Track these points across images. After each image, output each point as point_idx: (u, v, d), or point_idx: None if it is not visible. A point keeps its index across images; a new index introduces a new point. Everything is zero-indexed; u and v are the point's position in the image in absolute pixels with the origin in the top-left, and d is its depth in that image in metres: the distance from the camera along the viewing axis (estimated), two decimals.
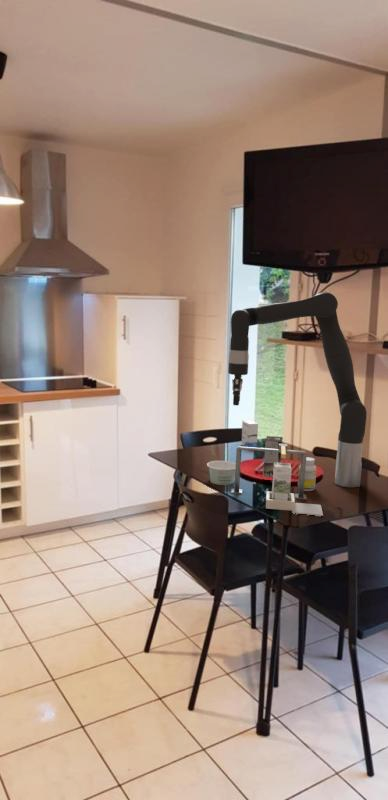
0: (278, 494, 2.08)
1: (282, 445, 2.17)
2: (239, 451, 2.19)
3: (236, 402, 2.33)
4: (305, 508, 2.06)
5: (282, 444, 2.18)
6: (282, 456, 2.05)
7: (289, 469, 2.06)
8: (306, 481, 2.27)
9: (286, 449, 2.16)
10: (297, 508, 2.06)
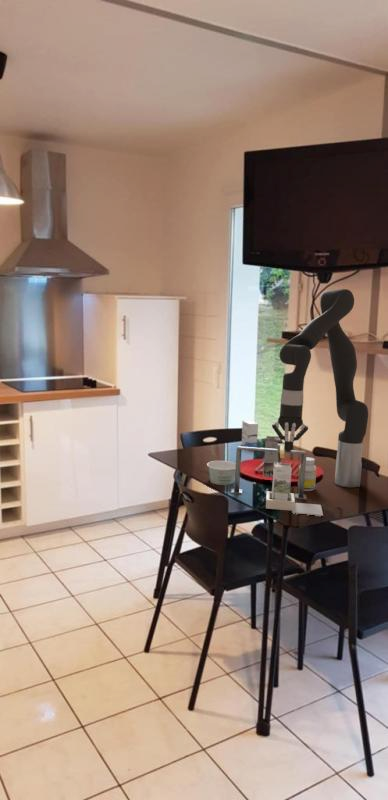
0: (278, 494, 2.08)
1: (281, 445, 2.17)
2: (239, 451, 2.19)
3: None
4: (305, 508, 2.06)
5: (281, 444, 2.18)
6: (281, 456, 2.05)
7: (289, 469, 2.06)
8: (306, 481, 2.27)
9: None
10: (297, 508, 2.06)
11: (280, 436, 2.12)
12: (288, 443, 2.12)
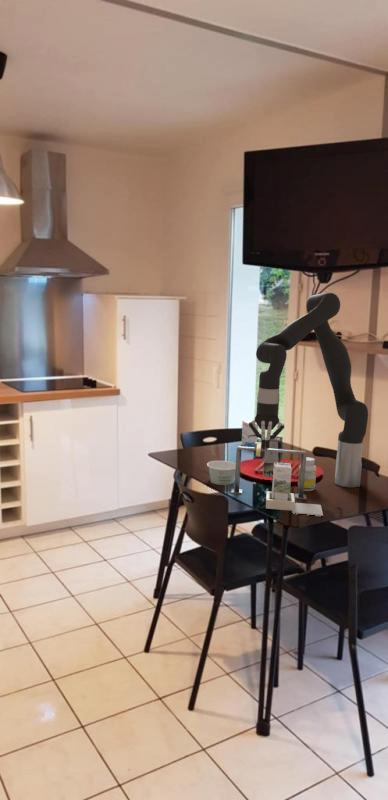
0: (278, 494, 2.08)
1: (258, 443, 2.18)
2: (239, 451, 2.19)
3: (268, 446, 2.14)
4: (305, 508, 2.06)
5: (258, 442, 2.19)
6: (257, 454, 2.06)
7: (289, 469, 2.06)
8: (306, 481, 2.27)
9: None
10: (297, 508, 2.06)
11: (257, 434, 2.13)
12: None
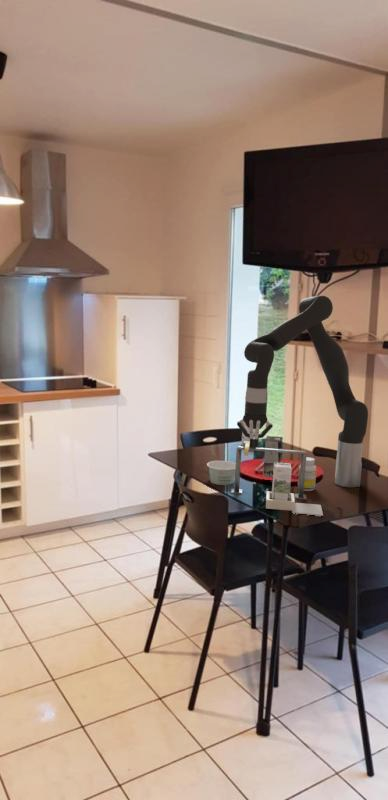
0: (278, 494, 2.08)
1: (247, 442, 2.18)
2: (239, 451, 2.19)
3: None
4: (305, 508, 2.06)
5: (247, 441, 2.19)
6: (245, 453, 2.06)
7: (289, 469, 2.06)
8: (306, 481, 2.27)
9: None
10: (297, 508, 2.06)
11: (245, 434, 2.13)
12: (253, 440, 2.13)
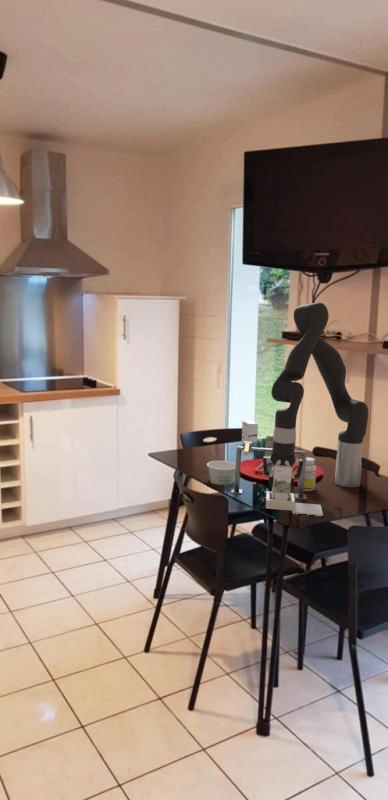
0: (278, 494, 2.08)
1: (247, 442, 2.18)
2: (239, 451, 2.19)
3: None
4: (305, 508, 2.06)
5: (247, 441, 2.19)
6: (244, 453, 2.06)
7: (289, 469, 2.06)
8: (306, 481, 2.27)
9: (250, 446, 2.18)
10: (297, 508, 2.06)
11: (264, 472, 2.09)
12: (272, 479, 2.09)
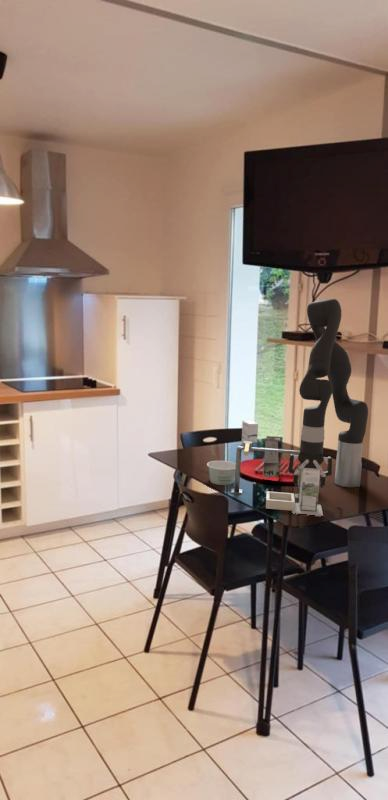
0: (306, 498, 2.03)
1: (247, 442, 2.18)
2: (239, 451, 2.19)
3: None
4: None
5: (247, 441, 2.19)
6: (244, 453, 2.06)
7: (318, 471, 2.01)
8: None
9: (250, 446, 2.18)
10: (297, 508, 2.06)
11: (289, 469, 2.04)
12: (297, 477, 2.04)
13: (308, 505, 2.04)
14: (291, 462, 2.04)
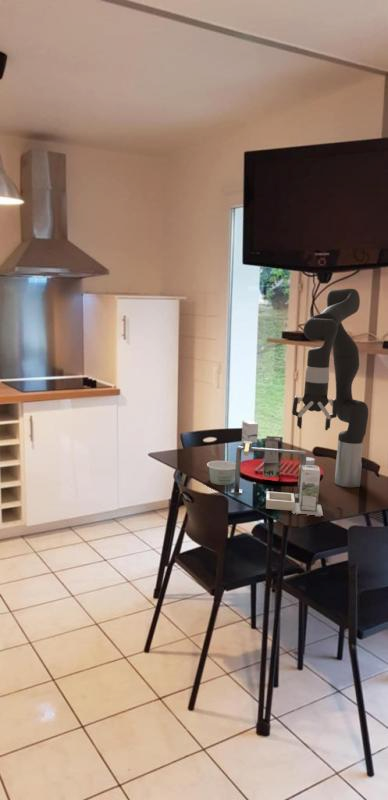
0: (306, 498, 2.04)
1: (247, 442, 2.18)
2: (239, 451, 2.19)
3: None
4: None
5: (247, 441, 2.19)
6: (244, 453, 2.06)
7: (318, 471, 2.02)
8: None
9: (250, 446, 2.18)
10: (297, 508, 2.06)
11: (293, 412, 2.01)
12: (301, 419, 2.01)
13: (308, 505, 2.04)
14: (295, 404, 2.00)
